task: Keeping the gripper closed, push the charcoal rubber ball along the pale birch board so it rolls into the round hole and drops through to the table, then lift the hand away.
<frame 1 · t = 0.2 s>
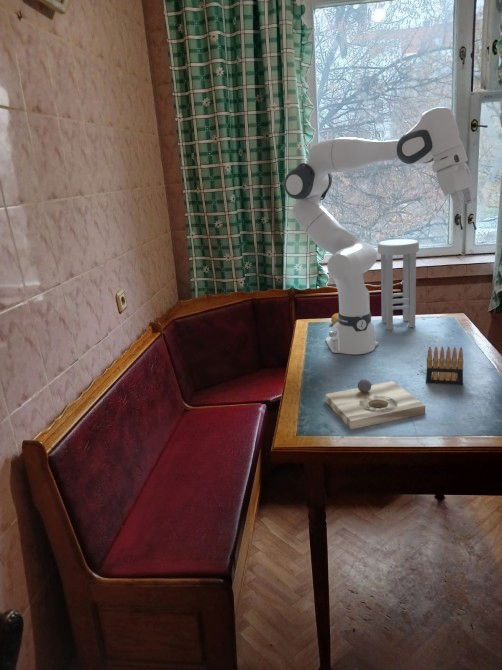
hand: (464, 205, 150), 52 cm above the table, tool tilted 20°, fingers open, 8 cm apart
board: (373, 407, 142), on the table
stool: (397, 324, 211), on the table
ammunition clip: (444, 383, 153), on the table
bagel: (343, 325, 218), on the table
ball: (364, 385, 146), point 4 cm above the table, touching board
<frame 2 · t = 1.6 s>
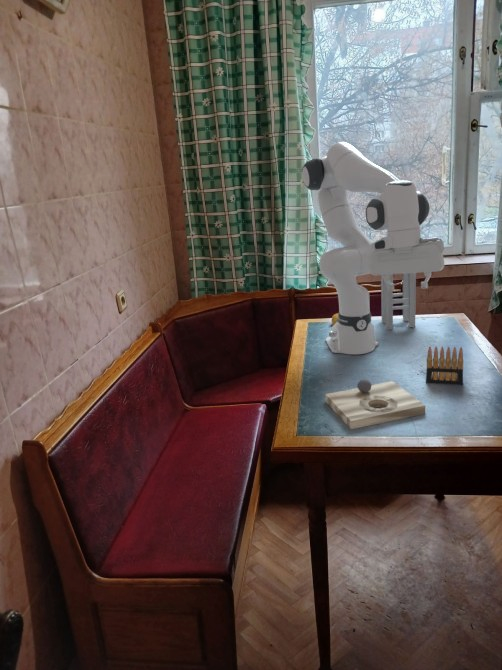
hand: (407, 289, 141), 32 cm above the table, tool pointing down, fingers open, 8 cm apart
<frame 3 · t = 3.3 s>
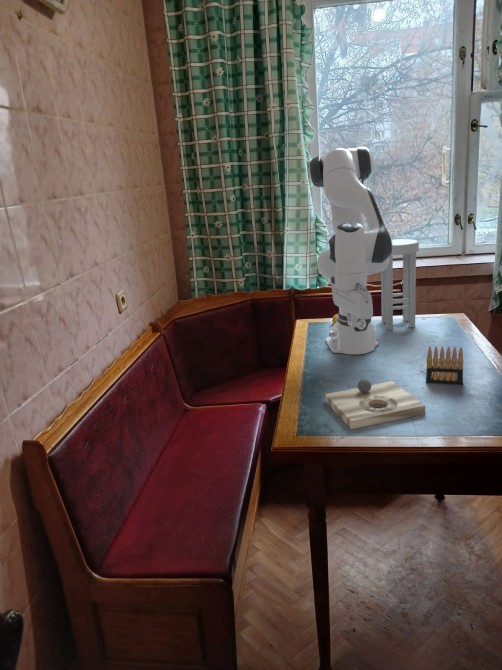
hand: (352, 326, 147), 21 cm above the table, tool pointing down, fingers closed
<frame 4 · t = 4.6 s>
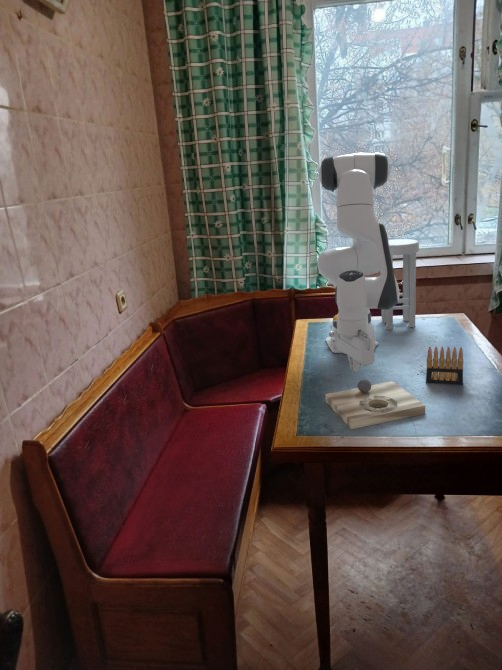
hand: (354, 369, 151), 7 cm above the table, tool pointing down, fingers closed
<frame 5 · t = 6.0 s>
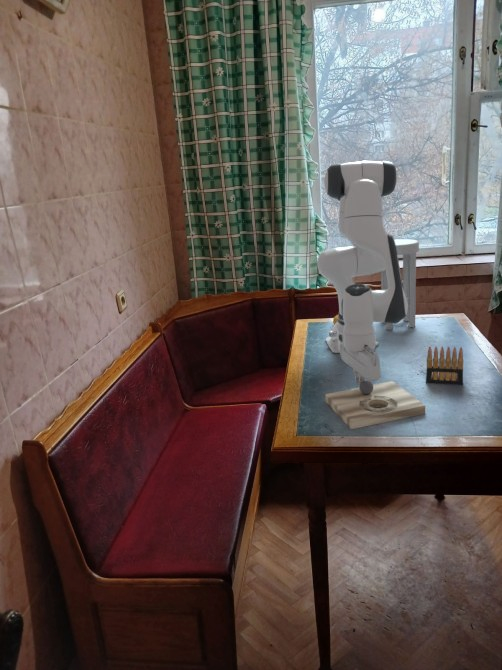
hand: (360, 383, 148), 4 cm above the table, tool pointing down, fingers closed
ball: (366, 387, 145), point 4 cm above the table, tilted 33°, touching board
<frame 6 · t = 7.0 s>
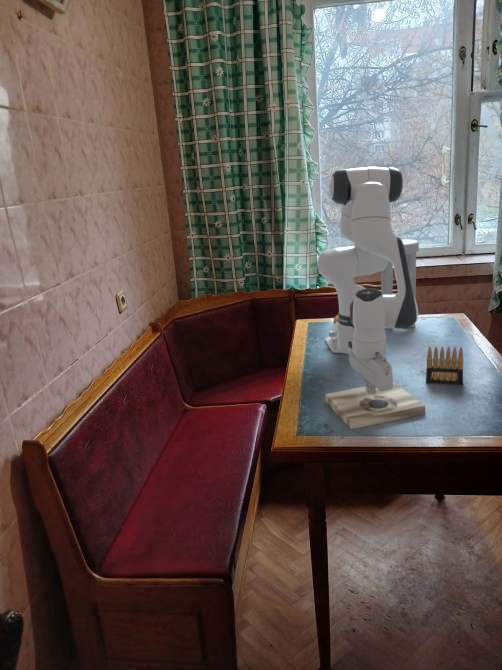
hand: (370, 392, 142), 4 cm above the table, tool pointing down, fingers closed
ball: (379, 406, 138), point 2 cm above the table, tilted 72°
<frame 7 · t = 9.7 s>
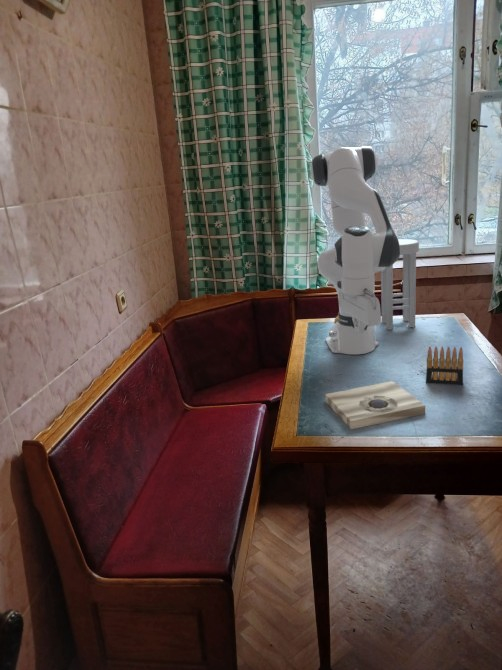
hand: (359, 331, 143), 21 cm above the table, tool pointing down, fingers closed
ball: (378, 406, 139), point 2 cm above the table, tilted 79°
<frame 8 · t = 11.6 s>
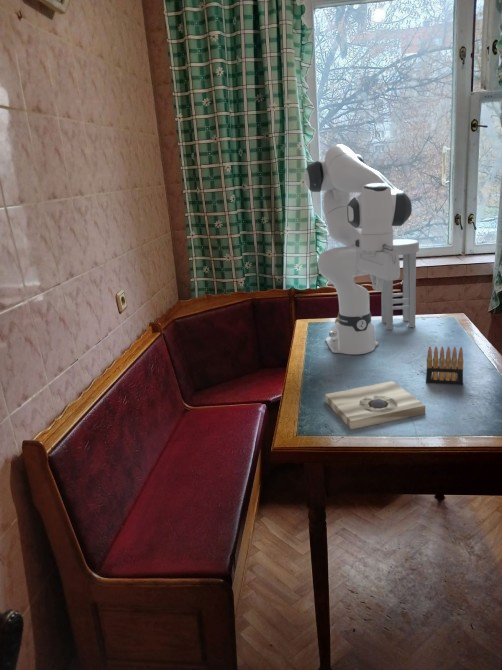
hand: (377, 289, 145), 31 cm above the table, tool pointing down, fingers closed
at the end: ball 0.3 cm from the target spot on the board, point 2.0 cm above the board's base; ball touching table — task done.
